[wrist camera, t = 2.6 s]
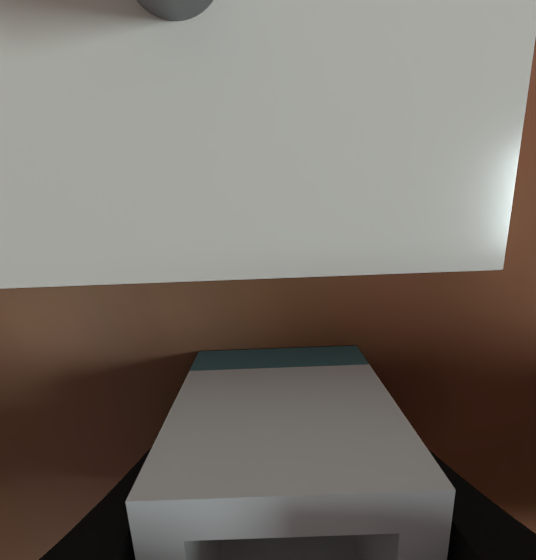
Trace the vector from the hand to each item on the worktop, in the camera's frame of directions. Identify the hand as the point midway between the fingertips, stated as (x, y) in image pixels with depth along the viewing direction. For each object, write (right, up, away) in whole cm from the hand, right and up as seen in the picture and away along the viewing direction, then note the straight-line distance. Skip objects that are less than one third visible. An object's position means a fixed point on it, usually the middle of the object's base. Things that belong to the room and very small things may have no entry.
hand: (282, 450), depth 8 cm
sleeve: (0, 0, +1) cm, 1 cm away
